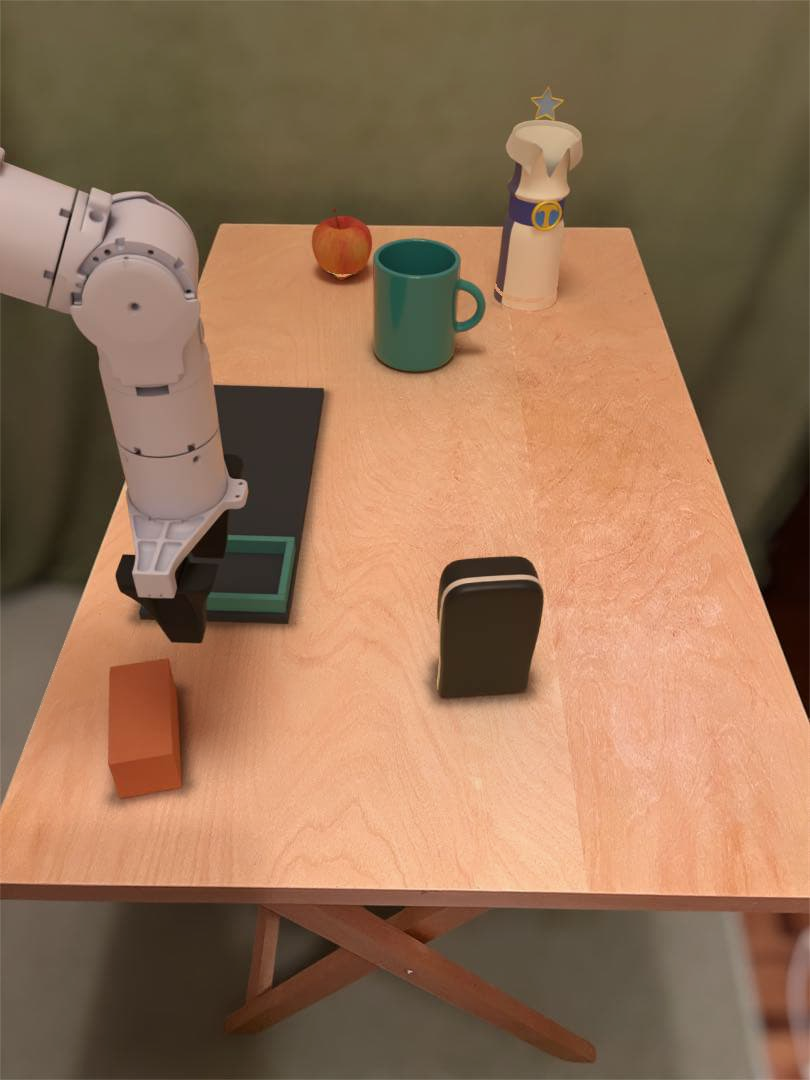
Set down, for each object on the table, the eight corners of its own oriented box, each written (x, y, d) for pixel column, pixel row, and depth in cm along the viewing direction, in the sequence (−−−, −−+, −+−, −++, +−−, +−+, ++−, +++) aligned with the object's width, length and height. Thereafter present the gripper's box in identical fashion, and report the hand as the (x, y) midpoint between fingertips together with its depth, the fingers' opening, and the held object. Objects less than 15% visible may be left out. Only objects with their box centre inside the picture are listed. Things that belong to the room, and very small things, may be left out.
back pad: (288, 623, 71) (286, 603, 70) (140, 619, 71) (135, 599, 70) (324, 394, 95) (323, 375, 93) (212, 390, 95) (209, 371, 93)
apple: (337, 294, 111) (335, 231, 105) (301, 272, 115) (298, 210, 109) (384, 277, 114) (384, 214, 109) (347, 256, 118) (346, 195, 113)
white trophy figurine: (572, 309, 109) (609, 85, 92) (504, 315, 108) (528, 89, 91) (549, 277, 115) (579, 61, 98) (484, 283, 114) (503, 65, 97)
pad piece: (120, 798, 60) (107, 764, 57) (120, 702, 66) (109, 666, 63) (182, 787, 61) (173, 753, 58) (177, 693, 66) (168, 657, 64)
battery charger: (520, 653, 70) (538, 544, 62) (530, 693, 67) (550, 584, 59) (429, 659, 69) (436, 550, 61) (436, 700, 66) (444, 591, 59)
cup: (480, 378, 98) (489, 281, 90) (369, 372, 98) (368, 274, 91) (481, 335, 104) (490, 241, 97) (377, 329, 105) (377, 235, 97)
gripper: (214, 514, 46) (241, 684, 55) (257, 360, 56) (274, 523, 66) (74, 509, 46) (125, 679, 55) (143, 356, 56) (176, 520, 66)
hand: (198, 594), depth 60 cm, fingers open, 7 cm apart
